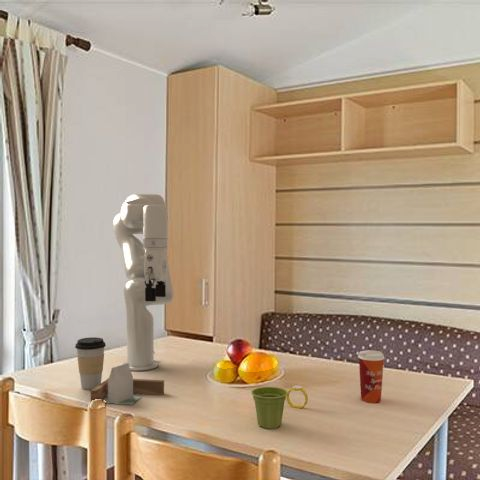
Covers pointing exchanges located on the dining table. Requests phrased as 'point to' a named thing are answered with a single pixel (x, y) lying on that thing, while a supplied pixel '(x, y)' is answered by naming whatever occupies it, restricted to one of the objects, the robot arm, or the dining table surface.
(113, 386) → the white carton
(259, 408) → the plant pot
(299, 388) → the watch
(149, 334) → the robot arm
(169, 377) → the dining table surface
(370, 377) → the paper cup
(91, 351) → the coffee cup
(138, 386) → the corner walls
